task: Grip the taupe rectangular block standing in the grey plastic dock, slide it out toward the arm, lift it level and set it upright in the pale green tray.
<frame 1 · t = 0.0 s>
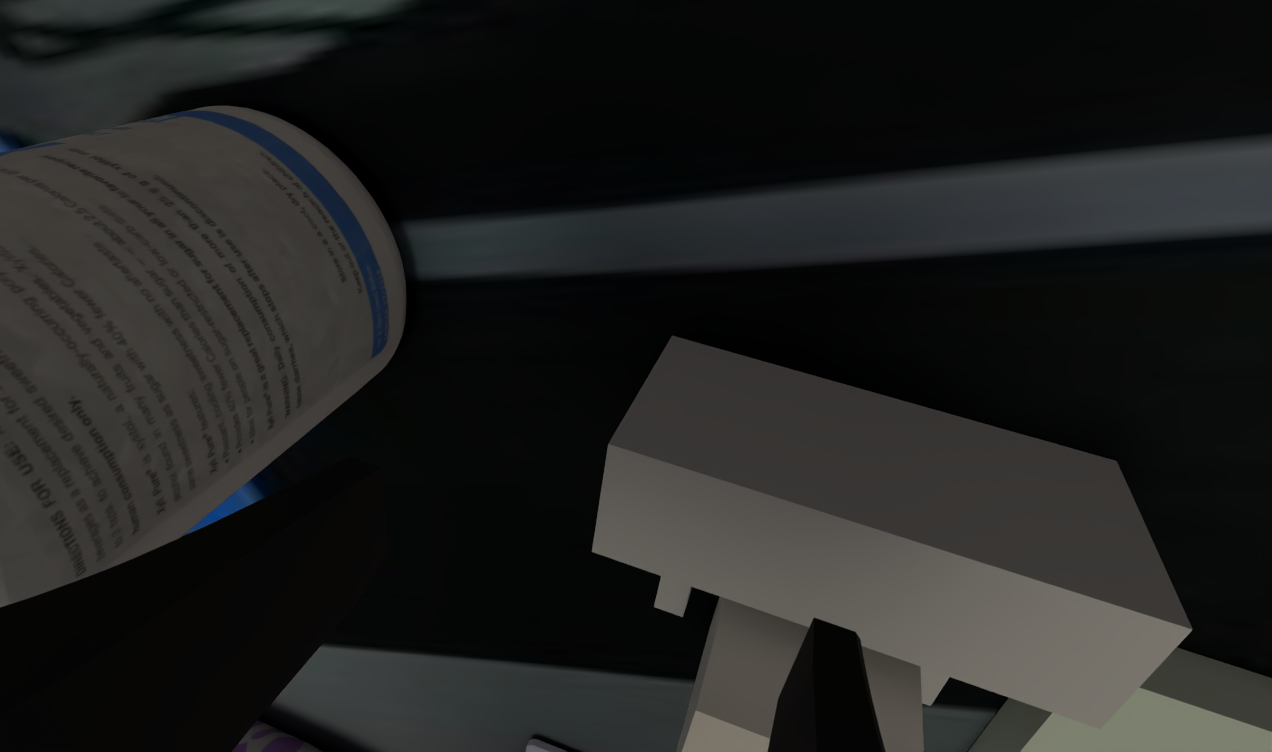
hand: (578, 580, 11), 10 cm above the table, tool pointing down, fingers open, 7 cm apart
taupe rectangular block: (802, 586, 23), on the table
dock: (802, 587, 23), on the table
supplement tub: (298, 253, 23), on the table
pencil case: (300, 741, 43), on the table
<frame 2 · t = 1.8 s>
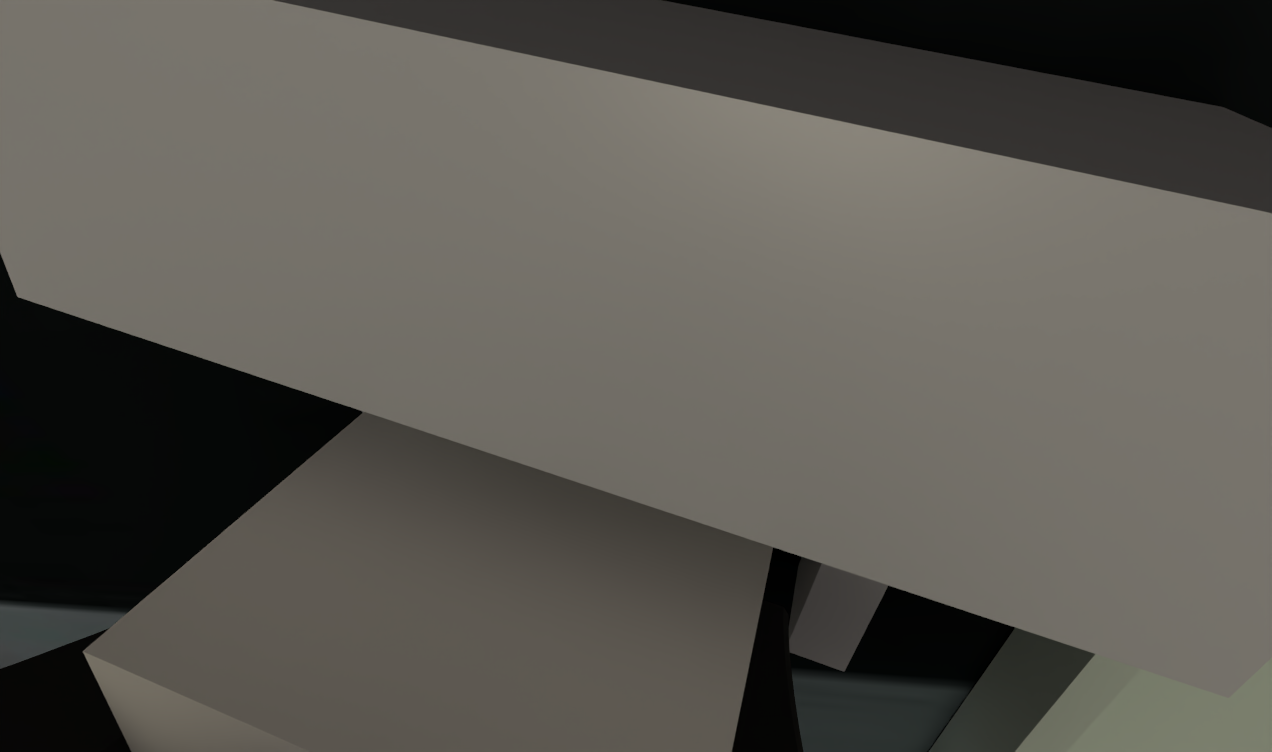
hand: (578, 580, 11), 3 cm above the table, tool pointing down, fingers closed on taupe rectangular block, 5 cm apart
taupe rectangular block: (634, 470, 13), on the table, touching gripper
dock: (633, 471, 13), on the table
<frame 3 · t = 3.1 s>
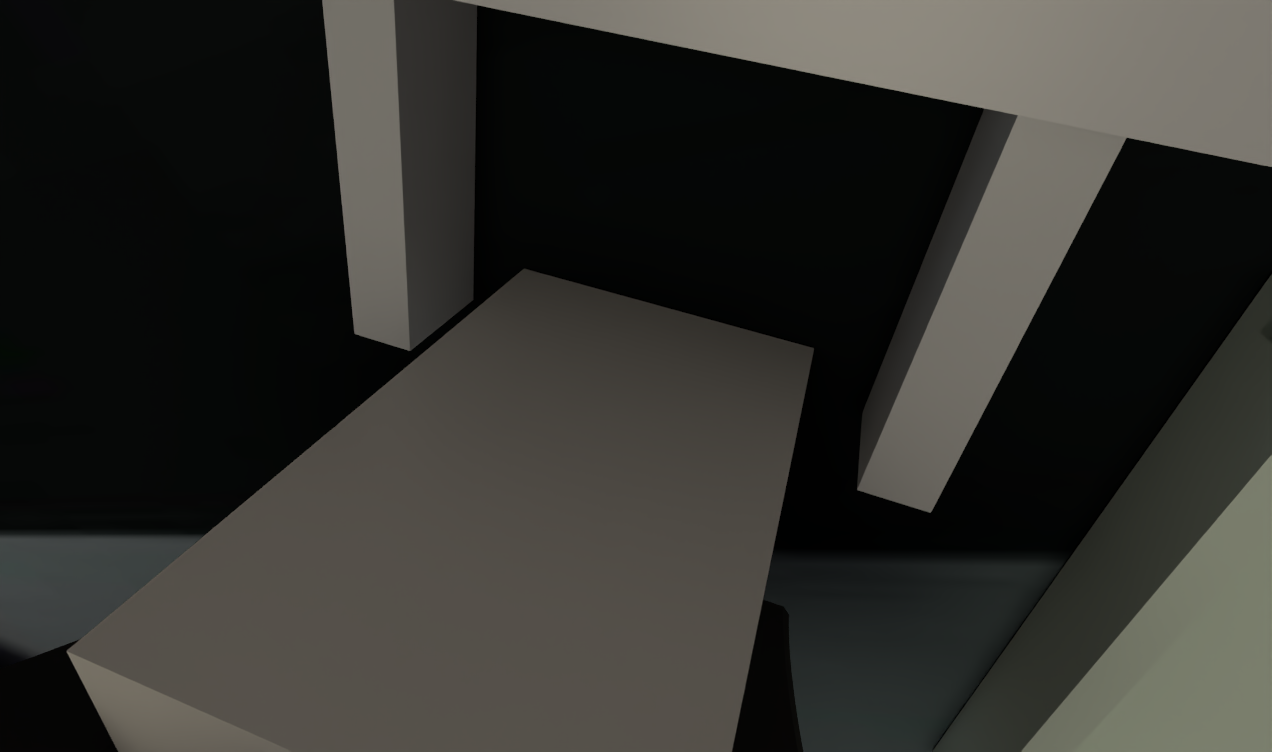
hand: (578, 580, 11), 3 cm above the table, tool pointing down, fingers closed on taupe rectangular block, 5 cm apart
taupe rectangular block: (634, 467, 13), on the table, touching gripper
dock: (666, 301, 11), on the table
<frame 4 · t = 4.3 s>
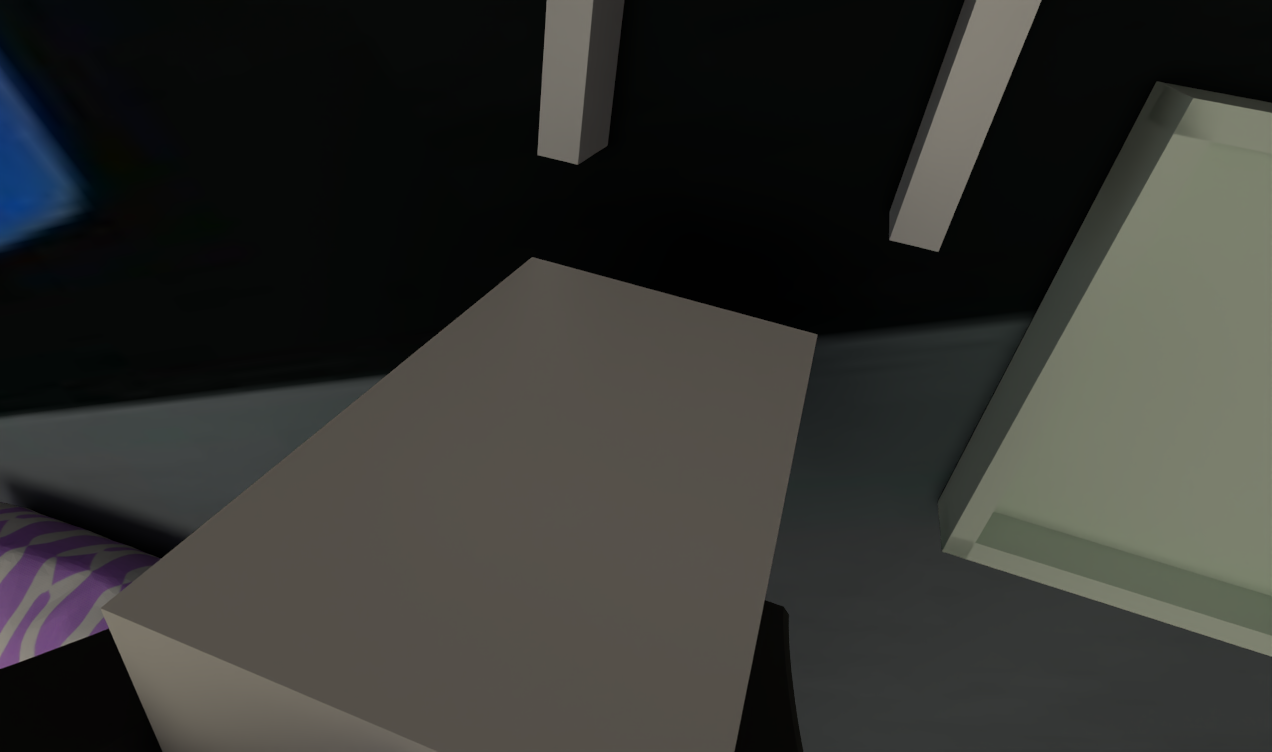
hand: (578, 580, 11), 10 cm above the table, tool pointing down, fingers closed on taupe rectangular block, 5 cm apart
tray: (1240, 385, 16), on the table
taupe rectangular block: (639, 454, 13), point 7 cm above the table, touching gripper
dock: (752, 135, 16), on the table
pencil case: (182, 575, 36), on the table
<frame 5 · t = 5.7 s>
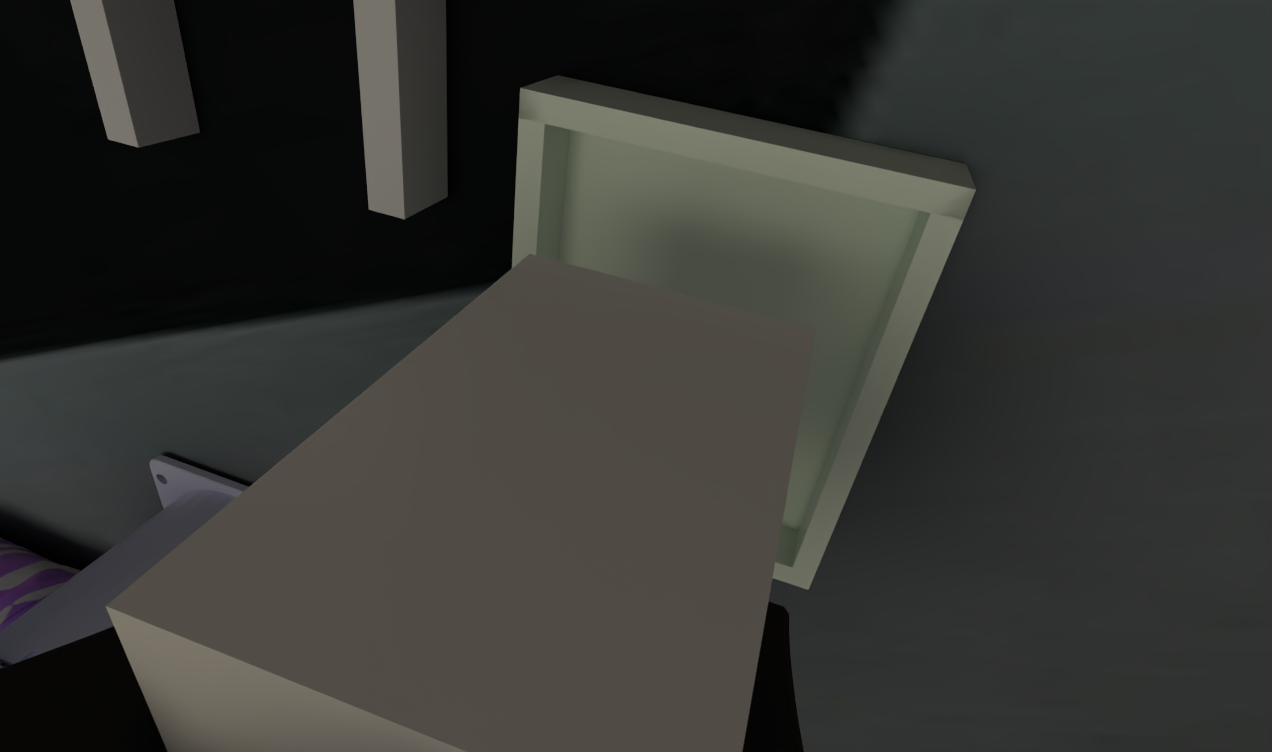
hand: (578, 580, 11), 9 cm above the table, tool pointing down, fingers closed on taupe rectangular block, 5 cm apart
tray: (702, 335, 18), on the table
taupe rectangular block: (637, 450, 13), point 6 cm above the table, touching gripper
dock: (299, 122, 19), on the table
pencil case: (1, 543, 39), on the table
when the fingers open (5 cm above the table, at t = 6.8 s): taupe rectangular block drops 2 cm, resting on tray.
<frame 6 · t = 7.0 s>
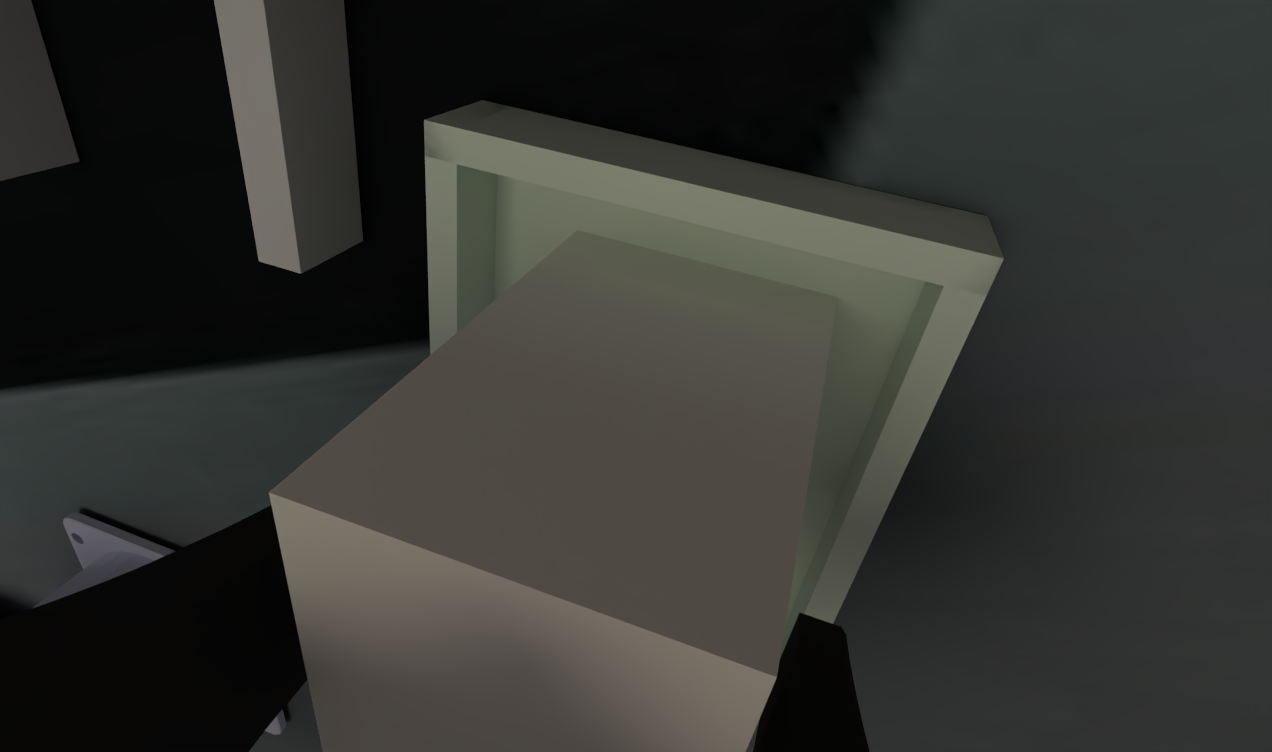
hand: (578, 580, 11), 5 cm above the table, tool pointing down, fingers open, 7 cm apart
tray: (666, 408, 15), on the table
taupe rectangular block: (671, 413, 15), resting on tray
dock: (188, 151, 16), on the table
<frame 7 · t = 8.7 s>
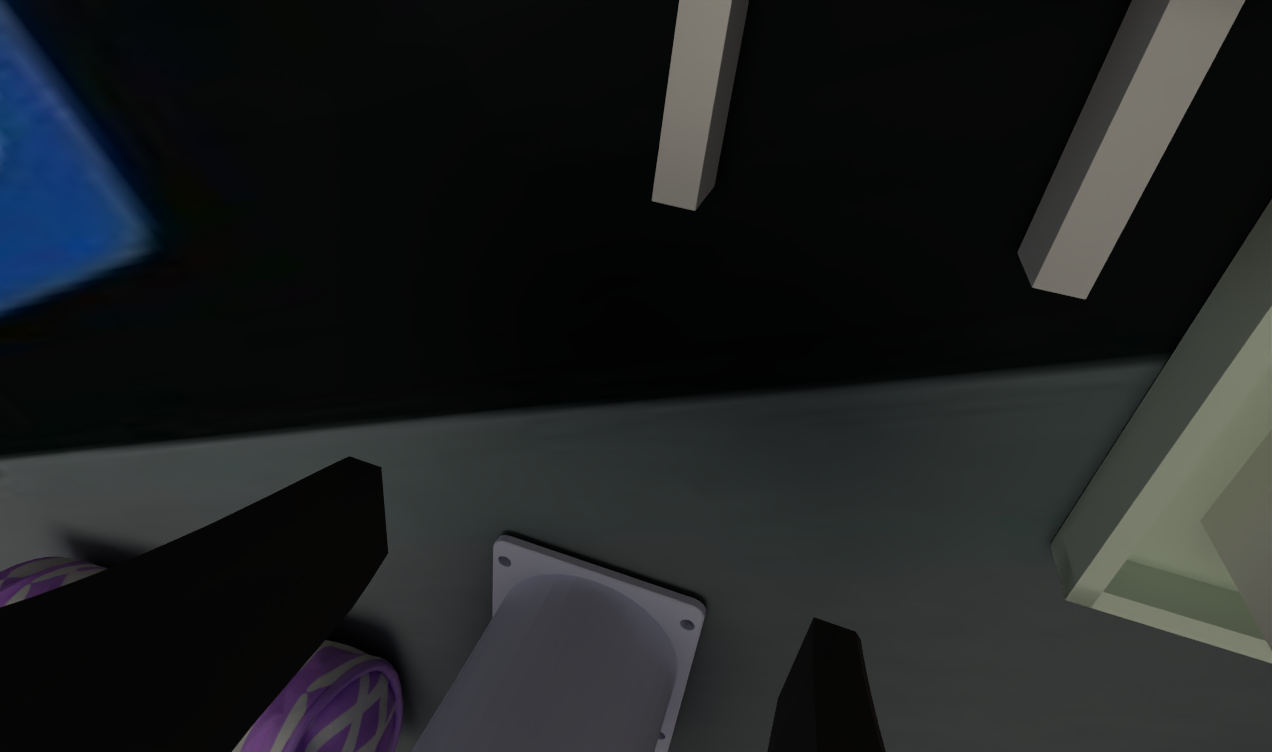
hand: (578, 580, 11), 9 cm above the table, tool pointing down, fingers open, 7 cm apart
dock: (872, 175, 16), on the table
pencil case: (239, 617, 36), on the table
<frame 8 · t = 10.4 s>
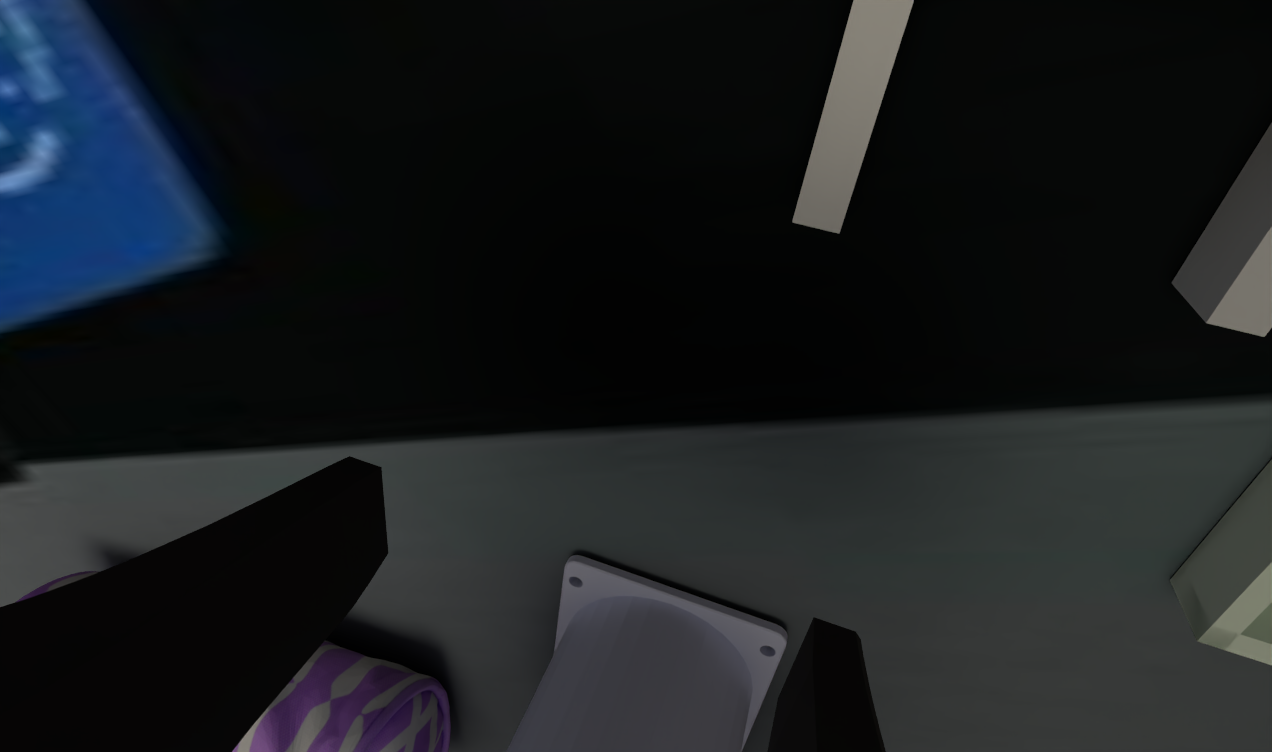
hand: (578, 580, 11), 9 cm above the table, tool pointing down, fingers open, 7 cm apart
dock: (1021, 199, 15), on the table
pencil case: (279, 633, 35), on the table
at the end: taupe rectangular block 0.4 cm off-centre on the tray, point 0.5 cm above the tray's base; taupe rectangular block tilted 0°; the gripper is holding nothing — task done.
